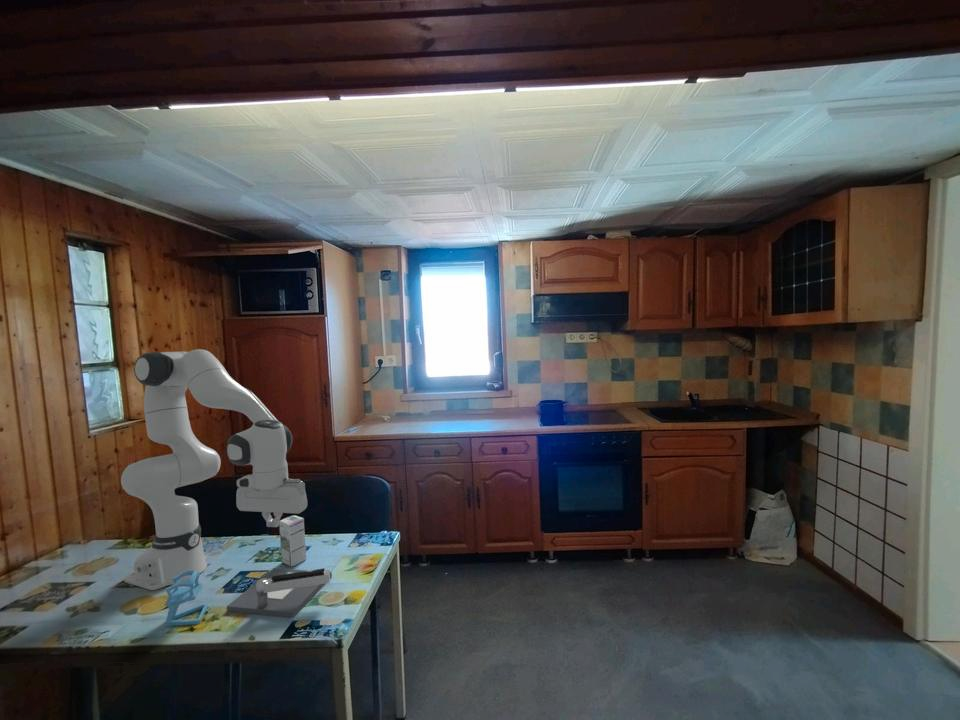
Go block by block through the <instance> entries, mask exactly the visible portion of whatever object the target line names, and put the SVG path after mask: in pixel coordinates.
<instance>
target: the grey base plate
mask: <svg viewBox="0 0 960 720" xmlns="http://www.w3.org/2000/svg"><path fill="white" fill-rule="evenodd" d="M303 571H308V570H307V569H293V568H291V569H290V568H276V567H274V568H272V569H271V570H270V571H269V572H268V573H266V574H265V575H264V576H262V577H261V578H260V579H262V578H267V579H271V578H272V576H276V575H283V574H289V573H296V572H303ZM332 573H333V572H331V571H330V579H332V576H333V574H332ZM326 584H327V583H325V584H318V585H312V586H306V587H299V588H293V589H286V590H280V591H274V592H267V593H265V594H263V595H257V593H256V582H255V583H253V585H251V586H250V587H248V589H246V590H245V591H244V592H242V593H241V594H240V595H239V596H238V597H237V598H235V599H233V600H232V601H231V602H230V603H228V605H226V612H227V613H228V612H229V613H237V614H238V613H239V614H247V615H248V614H249V615H259V616H270V617H280V618H281V617H282V618H290V619H291V618H293V619H294V618H295V617H296V616H297V615H298V613H299V612H300V611H301V610H302V609H304V607H305V606H306V605H307V604H308V603H309V602H310V601H311V600H312V599H313V597H315V596H316V594H317V593H319V591H320V590H322V588H323V587H324V586H325V585H326Z"/></svg>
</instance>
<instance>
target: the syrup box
mask: <svg viewBox="0 0 960 720" xmlns="http://www.w3.org/2000/svg"><path fill="white" fill-rule="evenodd" d="M278 527H279V537H280V538H279V539H280V541H279V542H280V555H281V563H282V564H283V563H284V564H283V565H286V566H289V567H290V566H291V567H290V568H292V566H293V567H295V566H297V565H299V564H301V563H302V561H303V562H305V561H306V560H307V549H306V534H305V518H304V517H301V516H298V515H295V514H294V515H290V516H286V517H285V518H283V519H280V525H279V526H278ZM304 560H305V561H304ZM300 562H301V563H300ZM298 563H299V564H298ZM296 564H297V565H296ZM294 565H295V566H294Z"/></svg>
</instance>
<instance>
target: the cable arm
mask: <svg viewBox="0 0 960 720" xmlns="http://www.w3.org/2000/svg"><path fill="white" fill-rule="evenodd" d="M330 572H331V569H327V570H326V569H325V568H317V569H311V570H307V571H303V572H296V573H289V574H283V575H276V576H272V578H271V579H267V578H263V577H261V578H262V579H261V578H260V579H258V580H257V581H256V582H255V583H256V593H257V595H263V594H265V593H267V592H274V591H280V590H286V589H293V588H299V587H306V586H312V585H318V584H325V583H326V584H329V583H330V580H331V578H330ZM326 584H325V585H326Z"/></svg>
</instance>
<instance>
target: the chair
mask: <svg viewBox="0 0 960 720" xmlns="http://www.w3.org/2000/svg"><path fill="white" fill-rule="evenodd" d="M200 574H201V573H200V572H199V571H186V572H184V573H182V574H180V575H179V576H177V577H174V578H172V579H173V581H174V584H172V585H169V587H168V586H167V587H165V589H164V590H165V591H166V594H167V595H168V598H167V599H166V601H165V603H164V604H165V607H168V612H167V616H166V620H165V622H164V626H165V627H172V626H174V627H175V626H189V625H190V626H191V625H198V624H200V623H201V622H202V619H203V617H204V615H205V612H207V609H208V602H207V603H206V602H205V603H202V604H200V605H197V606H193V607H191V608H188V609H186V610H183V611H180V612H178V613H177V611H178V608H179V606H180V605H182V604H185V603H186V602H190V601H194V600H196V599H197V596H198V594H199V592H200V590H201V589H202V587H203V583H199V582H200V581H199V579H200ZM187 575H191V577H190V578H189V579H185V580H181V581H178V582H177V580H178V579H180V578H182V577H184V576H187ZM171 591H172V592H171ZM200 610H201V611H200ZM197 611H200V613H199V615H198V617H197V618H196V619H193V618H191V619H179V618H182V617H184V616H187V615H190V614H192V613H195V612H197Z"/></svg>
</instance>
